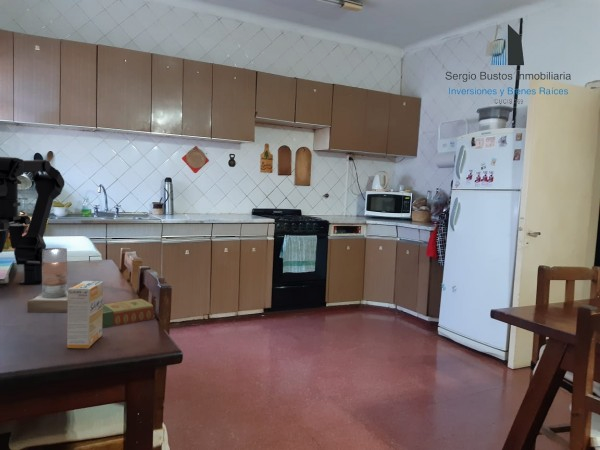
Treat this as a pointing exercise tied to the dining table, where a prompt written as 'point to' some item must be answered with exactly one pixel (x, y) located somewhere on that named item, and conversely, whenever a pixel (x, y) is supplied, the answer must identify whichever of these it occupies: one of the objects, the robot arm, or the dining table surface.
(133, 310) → the carton
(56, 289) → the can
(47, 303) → the board
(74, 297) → the supplement box
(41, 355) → the dining table surface
